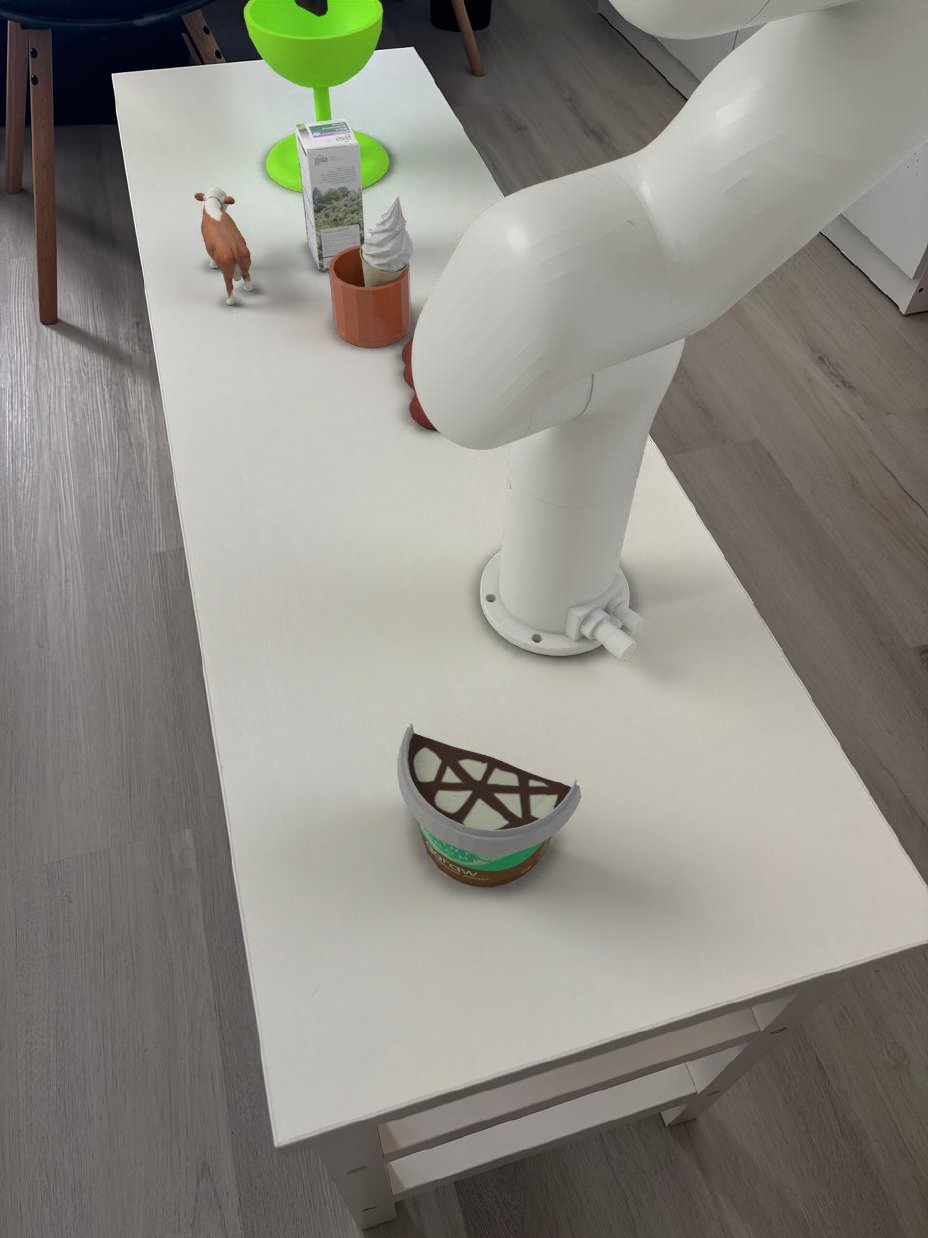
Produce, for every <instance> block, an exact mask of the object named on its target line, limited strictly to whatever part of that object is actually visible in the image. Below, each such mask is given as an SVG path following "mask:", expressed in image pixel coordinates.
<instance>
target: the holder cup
mask: <svg viewBox="0 0 928 1238" xmlns="http://www.w3.org/2000/svg"><path fill="white" fill-rule="evenodd" d="M361 247H362V245H359V246H354V247H350V248H348V249H345V250H343V251H341V252H339V253H338V254H337V255H336V256H335V257H334V258H333V259H332V260H331V261H330V265H329V270H328V277H329V278H328V279H329V288H330V289H329V290H330V297H331V308H332V309H331V310H332V318H333V322H334V329H335V331H336V334H337V335H338V336H339V337H340V338H341V339H342V340H343V341H345V342H347V343H349V344H351V345H354V346H356V347H361V348H382V347H387V346H390V345H393V344H395V343H397V342H399V341H401V340H403V338H405V337H406V336H407V334H408V333H409V331H410V329H411V321H412V320H411V317H412V304H411V302H412V300H411V267H410V265H411V264H410V263H409V264H408V266H407V268H406V269H405V270H403V272H402V274H401V275H400V277H399V278H398V279H397V280H395V281H393V282H391V283H389V284H387V285H383V286H377V287H365V281H364V274H363V265H362V259H361V256H360V248H361Z"/></svg>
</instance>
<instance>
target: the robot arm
mask: <svg viewBox="0 0 928 1238" xmlns="http://www.w3.org/2000/svg"><path fill="white" fill-rule="evenodd" d="M294 1H295V3H296V5H298V6H299V7H301V8H303V9H305V10H307V11H309V12H311V13H312V14H314V15H316V16H318V17H320V16H323V15H326V13H327V11H328V3H327V0H294ZM608 2H609V3H610V4H611V6H613V8H614V9H615V11H617V12H618V13H619V14H620V15H621V16H622V17H623V19H624V20H625V21H627V22H628V23H630V24H631V25H633V26H634V27H636V28H638V29H639V30H641V31H642V32H644V33H646V34H649V35H651V36H654V37H658V38H660V39H661V38H663V39H671V40H672V39H673V40H687V41H688V40H698V39H706V38H711V37H716V36H721V35H724V34H728V33H731V32H735V31H739V30H744V29H747V28H752V27H755V26H759V25H763V24H764V25H763V26H762V27H760V28H759V29H758V30H757V31H756V32H754V33H753V34H752V35H750V36H749V37H748V38H747V39H746V40H745V41H744V42H743V43H741V44H740V45H738V46H737V47H736V48H734V49H733V50H732V51H731V52H730V53H729V54H728V55H727V56H726V57H724V58H723V59H722V60H721V61H720V62H719V63H718V64H717V65H716V66H715V67H713V69H712V70H711V71H710V72H709V73H708V74H707V75H706V76H705V78H704V79H703V80H702V81H701V82H700V83H699V84H698V86H697V87H696V88H695V90H694V91H693V93H692V94H691V95H690V96H689V98H688V100H687V101H686V102H685V104H684V105H683V107H682V108H681V109H680V111H679V112H678V113H677V114H676V115H675V117H674V118H673V119H672V120H671V121H670V122H669V124H668V125H666V126H665V128H664V129H663V130H662V131H661V133H659V135H657V137H655V138H654V139H653V140H652V141H651V142H649V143H648V144H647V145H646V146H645V147H643V148H641V149H640V150H637V151H636V152H634V153H631V154H629V155H626V156H623V157H620V158H617V159H615V160H611V161H608V162H605V163H603V164H602V163H601V164H599V165H597V166H593V167H590V168H587V169H584V170H580V171H576V172H573V173H570V174H567V175H563V176H560V177H557V178H554V179H553V178H552V179H549V180H545V181H542V182H540V183H539V182H538V183H537V184H533V185H531V186H528V187H525V188H522V189H520V190H517V191H515V192H513V193H510V194H508V195H506V196H504V197H503V198H501V199H499V200H498V201H496V202H495V203H493V204H492V205H491V206H489V207H488V208H486V209H485V210H484V211H483V212H481V213H480V214H479V215H478V216H477V217H476V218H475V219H474V220H473V221H472V223H471V224H470V225H469V226H468V228H466V229H467V230H466V231H465V232H464V234H463V236H462V237H461V239H460V241H459V242H458V244H457V246H456V247H455V249H454V252H453V253H452V255H451V256H450V258H449V260H448V262H447V264H446V265H445V268H444V269H443V271H442V273H441V275H440V276H439V278H438V279H437V281H436V284H435V285H434V287H433V289H432V291H431V292H430V294H429V296H428V298H427V300H426V302H425V304H424V305H423V307H422V310H421V312H420V314H419V317H418V319H417V322H416V326H415V329H414V332H413V333H414V334H413V336H414V337H413V336H412V338H413V344H412V375H413V381H414V386H415V390H416V394H417V397H418V400H419V402H420V405H421V407H422V409H423V411H424V413H425V414H426V416H427V418H428V419H429V421H430V422H431V423H432V425H433V426H434V427H435V428H436V429H435V430H437V431H438V432H439V434H441V435H442V436H443V437H445V438H446V439H447V440H449V441H450V442H452V443H454V444H455V445H458V446H459V447H463V448H465V449H468V450H476V451H488V450H493V449H497V448H501V447H504V446H507V445H508V455H507V468H506V481H505V482H506V483H505V497H504V508H503V522H502V523H503V524H502V537H501V548H500V550H497V552H496V553H495V554H494V555H493V556H492V557H491V558H490V559H489V561H488V562H487V564H486V565H485V567H484V569H483V571H482V575H481V578H480V584H479V599H480V600H479V601H480V606H481V608H482V612H483V614H484V617H485V618H486V619H487V622H488V623H489V625H490V626H491V627H492V628H493V629H494V630H495V632H497V633H498V635H500V636H501V638H502V637H503V638H504V639H505V640H506V641H508V642H509V643H511V644H513V645H515V646H516V647H518V648H521V649H522V650H525V651H528V652H532V653H535V654H537V655H538V654H539V655H546V656H552V657H564V656H566V657H567V656H574V655H579V654H583V653H586V652H589V651H592V650H595V649H597V648H599V647H600V646H603V647H604V648H605V649H606V651H608V652H609V653H610V654H612V655H613V656H614V657H615V658H616V659H617V660H619V661H620V662H621V663H623V662H626V661H627V660H629V658H630V657H631V656H633V654H634V653H635V651H636V650H637V649H638V642H637V641H635V640H634V639H633V637H630V636H629V635H628V634H627V633H626V632H625V631H624V630H622V629H621V627H622V626H624V627H626V628H627V629H628V630H629V631H631V632H632V633H633V634H636V633H639V631H641V630H642V628H643V627H644V626H645V623H646V619H645V618H644V617H642V616H641V615H640V614H638V613H637V612H636V611H635V610H632V609H631V608H629V606H630V596H631V594H630V593H631V592H630V588H629V583H628V580H627V578H626V575H625V573H624V571H623V570H622V568H621V567H620V561H621V557H622V551H623V548H624V542H625V537H626V533H627V528H628V524H629V519H630V515H631V511H632V505H633V502H634V496H635V491H636V486H637V482H638V479H639V477H640V476H639V475H640V471H641V467H642V462H643V458H644V455H645V450H646V446H647V442H648V438H649V434H650V431H651V428H652V426H653V422H654V419H655V417H656V415H657V412H658V410H659V408H660V406H661V404H662V401H663V399H664V397H665V396H666V393H667V391H668V389H669V387H670V385H671V383H672V381H673V379H674V376H675V374H676V372H677V369H678V367H679V364H680V361H681V358H682V355H683V351H684V347H685V343H686V338H688V337H690V336H693V335H694V334H696V333H698V332H699V331H701V330H703V329H705V328H706V327H708V326H710V325H711V324H713V323H714V322H716V320H719V318H721V316H723V315H724V314H725V313H726V312H727V311H728V310H730V309H731V308H732V307H733V306H734V305H736V304H737V303H738V302H739V301H740V300H741V299H743V297H745V296H746V295H747V294H748V293H749V292H750V291H752V290H753V289H754V288H755V287H756V286H757V285H759V284H760V283H761V282H762V281H764V280H765V279H766V278H767V277H769V276H770V275H771V274H773V272H774V271H776V270H777V269H778V268H779V267H780V266H782V265H783V264H784V263H785V262H786V261H788V260H789V259H791V258H792V257H793V256H794V255H795V254H796V253H798V252H799V251H800V250H801V249H803V248H804V247H805V246H806V245H807V244H808V243H809V242H811V241H812V240H813V239H814V238H815V237H816V236H817V235H818V234H819V233H820V232H821V231H823V229H824V228H826V226H828V224H831V222H833V220H835V219H836V218H838V217H839V215H841V214H842V213H843V212H845V210H847V209H848V208H849V207H850V206H852V205H853V204H854V203H855V202H857V201H858V200H859V199H860V198H861V197H864V196H865V194H866V193H868V192H869V191H870V190H872V189H873V188H874V187H875V186H876V185H878V184H879V183H880V182H881V181H882V180H884V179H885V178H886V177H887V176H888V175H889V174H891V173H892V172H893V171H894V170H895V169H897V168H898V167H899V166H900V165H902V164H903V163H904V162H905V161H906V160H907V159H909V157H910V156H912V155H913V154H914V153H915V152H916V151H917V150H918V149H919V148H921V147H922V145H924V144H925V143H926V142H927V141H928V0H608Z"/></svg>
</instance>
